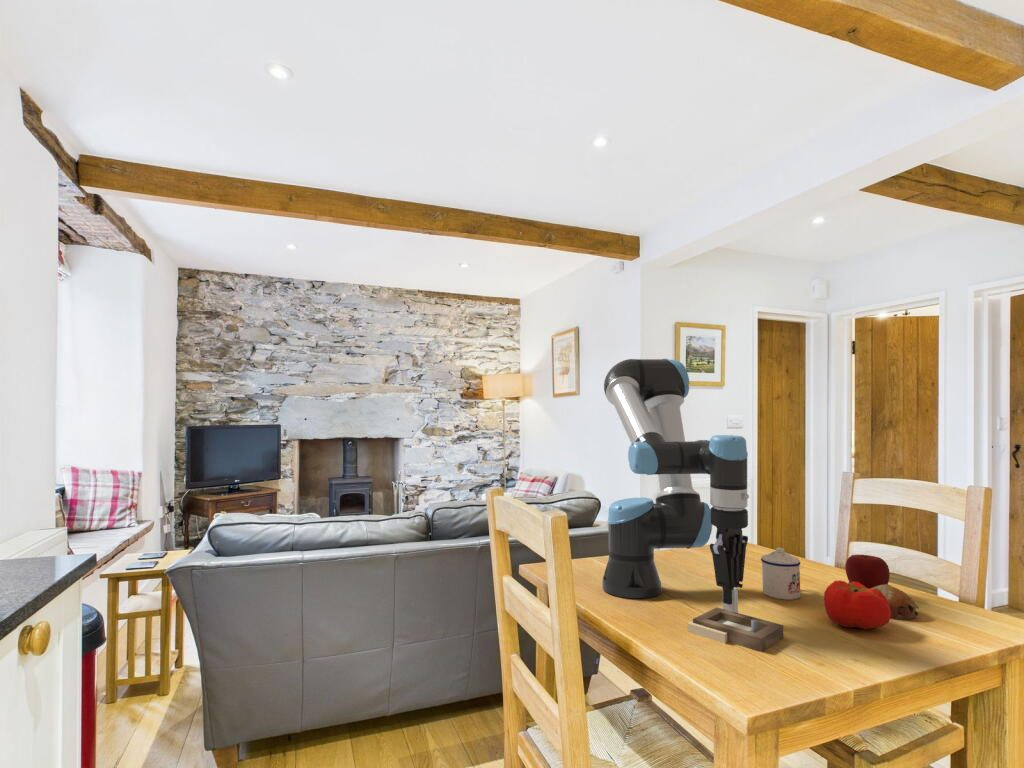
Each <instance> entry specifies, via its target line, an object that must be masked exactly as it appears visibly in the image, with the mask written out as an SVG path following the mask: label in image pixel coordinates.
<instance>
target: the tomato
mask: <svg viewBox="0 0 1024 768" xmlns="http://www.w3.org/2000/svg"><path fill="white" fill-rule="evenodd" d="M823 596H824V597H823V602H824V608H825V613H826V614H827V617H828V618H829V619H830V620H831V621H832V622H834V623H836V624H837V625H839V626H842V627H844V628H858V629H862V630H870V629H875V628H879V627H883V626H885V625H887V624H888V623H889V622H890V620H891V610H890V606H889V603H888V601H887V599H886V597H885V596H884V595H883V594H882V593H881V592H880V591H878V590H875V589H873V588H870V589H869V588H866V587H865V586H863V585H862V584H860V583H858V582H854V581H853V582H850V583H849V582H846V581H845V580H842V579H841V580H834V581H833V582H832V583H830V584H829V585H827V587H826V589H825V591H824V594H823Z"/></svg>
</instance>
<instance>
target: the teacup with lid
mask: <svg viewBox="0 0 1024 768" xmlns="http://www.w3.org/2000/svg"><path fill="white" fill-rule="evenodd" d="M760 561H761V572H762V573H761V574H762V575H761V576H762V593H763V594H764V595H766V596H767V597H769V598H774V599H778V600H784V601H785V600H786V601H788V600H789V601H794V600H797V599H798V600H799V598H801V576H800V575H801V573H800V571H801V570H800V567H801V566H800V565H801V560H800V559H799V558H798V557H795V556H793V555H791V554H790V553H788V552H786V551H785V548H784V547H775V551H771V552H769V553H765V554H763V555H762V556H761V558H760Z"/></svg>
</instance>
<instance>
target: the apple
mask: <svg viewBox="0 0 1024 768" xmlns="http://www.w3.org/2000/svg"><path fill="white" fill-rule="evenodd" d="M845 573H846V577H847V580H848V583H850V582H853V581H854V582H858V583H860V584H862V585H863V586H865V587H866V588H869V589H870V588H873V587H875V586H879V585H885V584H887V585H889V582H890V568H889V564H887V562H886V561H885V560H884V559H883V558H881V557H879V556H874V555H869V554H851V555H850V556H849V557H847V559H846V560H845Z"/></svg>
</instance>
